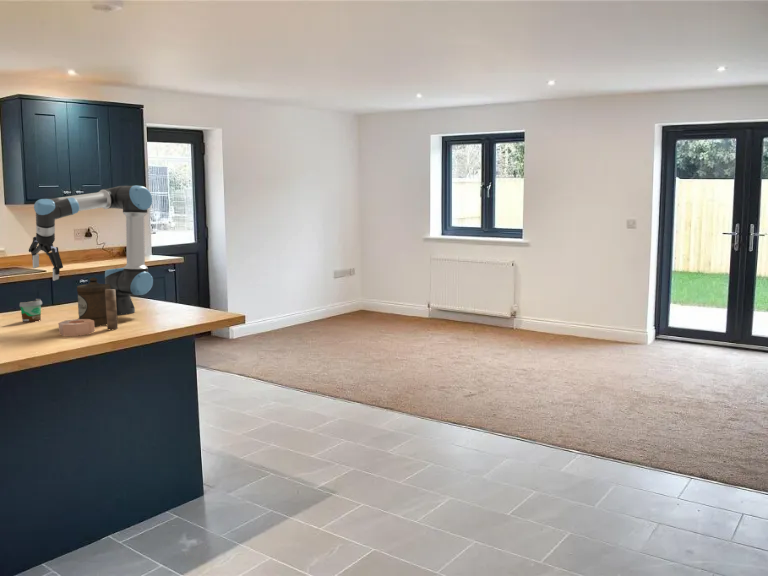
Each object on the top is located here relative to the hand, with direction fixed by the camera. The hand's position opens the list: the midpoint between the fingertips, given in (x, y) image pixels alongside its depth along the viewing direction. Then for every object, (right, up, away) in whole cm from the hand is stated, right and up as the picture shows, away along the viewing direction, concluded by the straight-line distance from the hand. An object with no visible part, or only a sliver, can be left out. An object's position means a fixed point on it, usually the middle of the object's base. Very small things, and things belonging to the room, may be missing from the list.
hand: (45, 273), depth 328 cm
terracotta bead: (+20, -27, -13) cm, 36 cm away
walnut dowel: (+32, -25, -4) cm, 41 cm away
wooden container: (+19, -24, +10) cm, 32 cm away
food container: (-13, -23, +16) cm, 31 cm away
